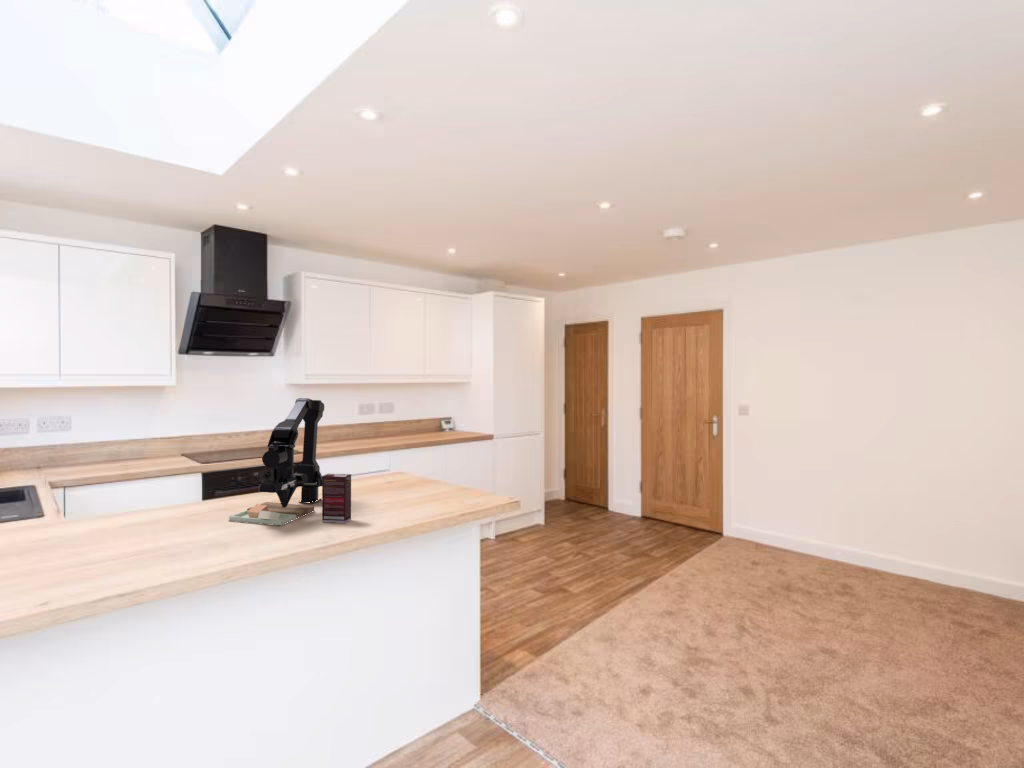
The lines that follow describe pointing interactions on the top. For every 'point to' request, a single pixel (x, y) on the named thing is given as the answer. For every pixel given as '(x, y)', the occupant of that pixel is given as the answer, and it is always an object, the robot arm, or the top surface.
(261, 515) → the cream tile
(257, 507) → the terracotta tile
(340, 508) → the supplement box
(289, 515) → the green tray
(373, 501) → the top surface
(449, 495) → the top surface
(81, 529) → the top surface
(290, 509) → the walnut board
